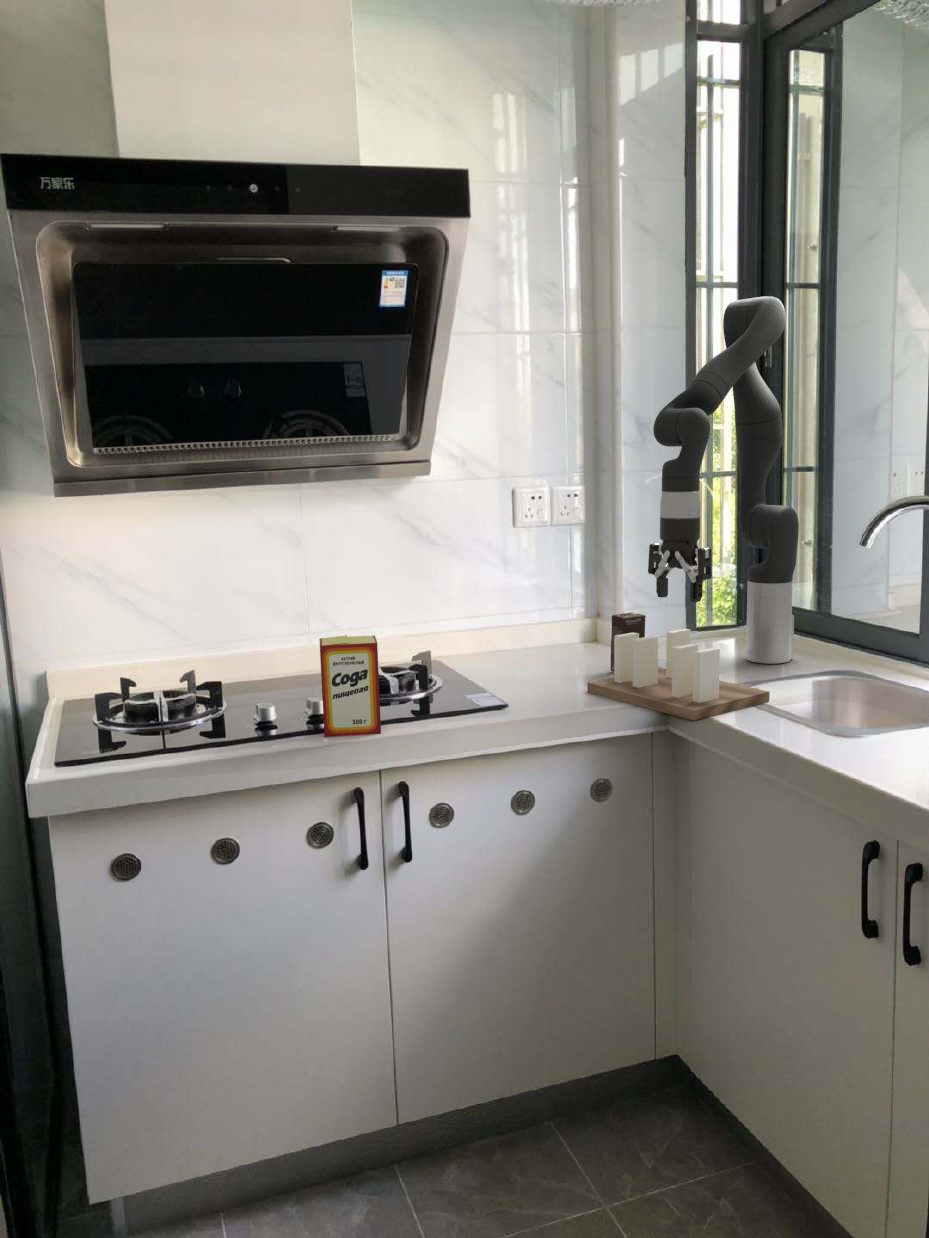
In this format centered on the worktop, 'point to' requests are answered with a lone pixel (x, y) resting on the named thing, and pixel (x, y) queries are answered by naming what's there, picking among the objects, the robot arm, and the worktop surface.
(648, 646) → the domino
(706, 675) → the domino
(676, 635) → the domino
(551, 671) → the worktop surface
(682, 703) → the cutting board
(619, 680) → the domino
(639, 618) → the box
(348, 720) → the baking soda box
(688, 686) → the domino
